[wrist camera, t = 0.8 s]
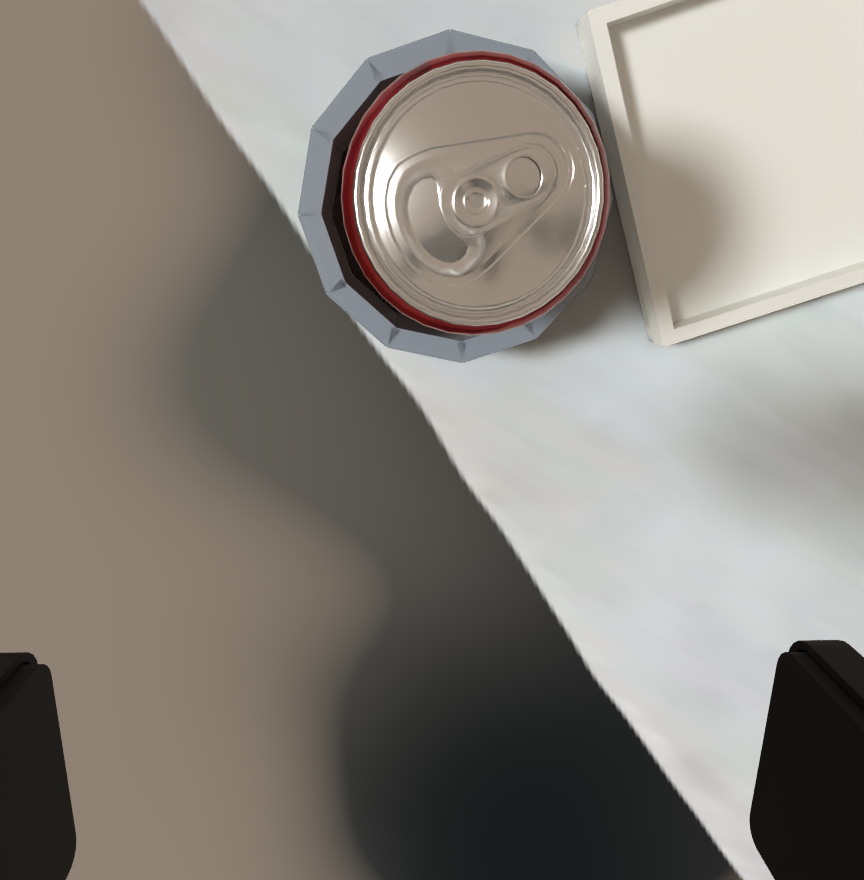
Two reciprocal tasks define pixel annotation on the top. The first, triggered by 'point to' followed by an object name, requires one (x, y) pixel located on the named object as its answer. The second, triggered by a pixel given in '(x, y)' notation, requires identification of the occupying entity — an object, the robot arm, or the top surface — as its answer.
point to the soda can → (475, 192)
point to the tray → (732, 152)
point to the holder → (320, 194)
